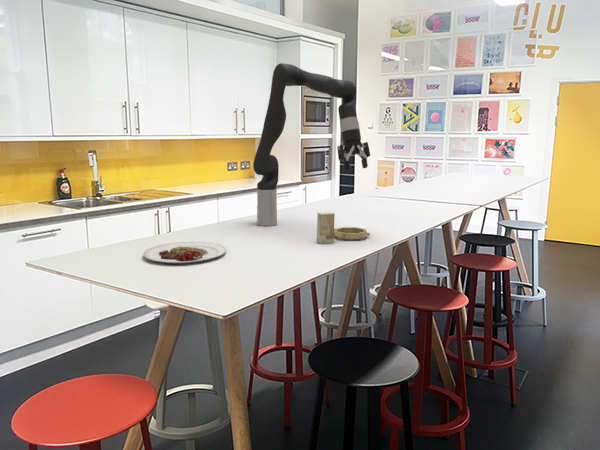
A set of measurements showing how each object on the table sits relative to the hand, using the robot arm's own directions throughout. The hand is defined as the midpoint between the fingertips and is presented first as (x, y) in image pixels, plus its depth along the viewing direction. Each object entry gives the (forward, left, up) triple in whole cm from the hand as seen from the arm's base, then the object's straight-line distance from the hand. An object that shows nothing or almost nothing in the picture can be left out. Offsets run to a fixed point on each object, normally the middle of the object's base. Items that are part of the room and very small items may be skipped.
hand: (356, 169), depth 206 cm
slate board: (-2, +4, -29) cm, 30 cm away
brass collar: (-2, +4, -29) cm, 30 cm away
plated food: (-66, -24, -30) cm, 76 cm away
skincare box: (-13, -5, -30) cm, 33 cm away
